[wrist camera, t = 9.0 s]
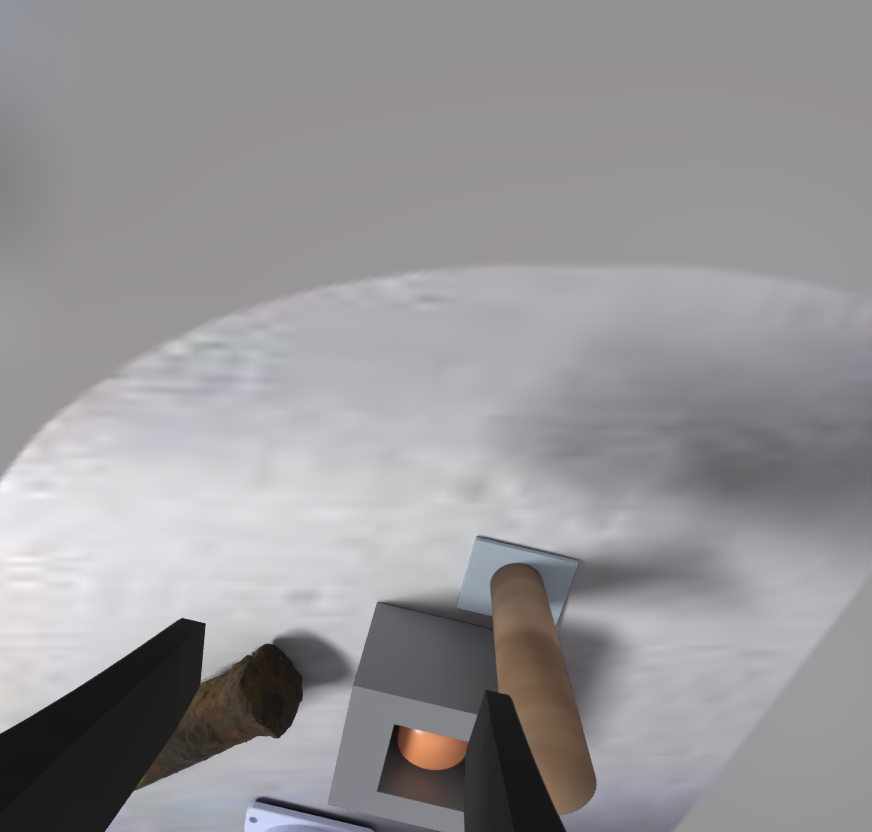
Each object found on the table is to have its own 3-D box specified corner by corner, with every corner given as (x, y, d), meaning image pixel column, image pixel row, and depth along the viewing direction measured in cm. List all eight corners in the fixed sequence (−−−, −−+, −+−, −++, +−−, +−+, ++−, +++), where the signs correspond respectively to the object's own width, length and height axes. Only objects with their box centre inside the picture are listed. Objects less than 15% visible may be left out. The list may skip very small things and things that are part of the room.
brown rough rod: (274, 626, 24) (229, 702, 19) (314, 680, 25) (279, 765, 20) (32, 734, 27) (-53, 819, 23) (73, 779, 28) (-2, 869, 24)
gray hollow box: (496, 738, 24) (503, 846, 20) (354, 704, 25) (327, 804, 20) (531, 638, 23) (548, 731, 18) (377, 602, 23) (353, 685, 18)
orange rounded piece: (459, 727, 23) (458, 776, 20) (399, 713, 23) (391, 760, 20) (474, 679, 22) (475, 725, 19) (411, 664, 22) (405, 709, 19)
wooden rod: (535, 613, 22) (580, 823, 13) (484, 601, 22) (496, 804, 13) (550, 569, 21) (608, 761, 12) (497, 557, 21) (519, 740, 12)
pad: (552, 626, 22) (554, 630, 22) (457, 604, 22) (457, 608, 22) (576, 560, 21) (578, 563, 21) (476, 536, 21) (476, 539, 21)
